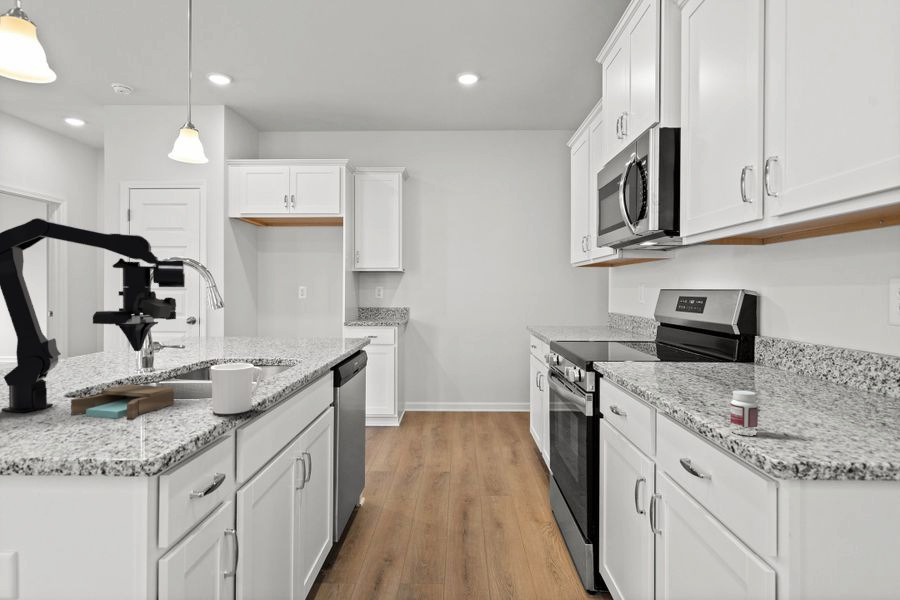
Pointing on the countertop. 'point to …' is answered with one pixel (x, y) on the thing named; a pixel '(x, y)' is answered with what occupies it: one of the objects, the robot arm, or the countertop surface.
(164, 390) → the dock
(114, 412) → the panel
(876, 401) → the countertop surface
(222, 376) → the mug
